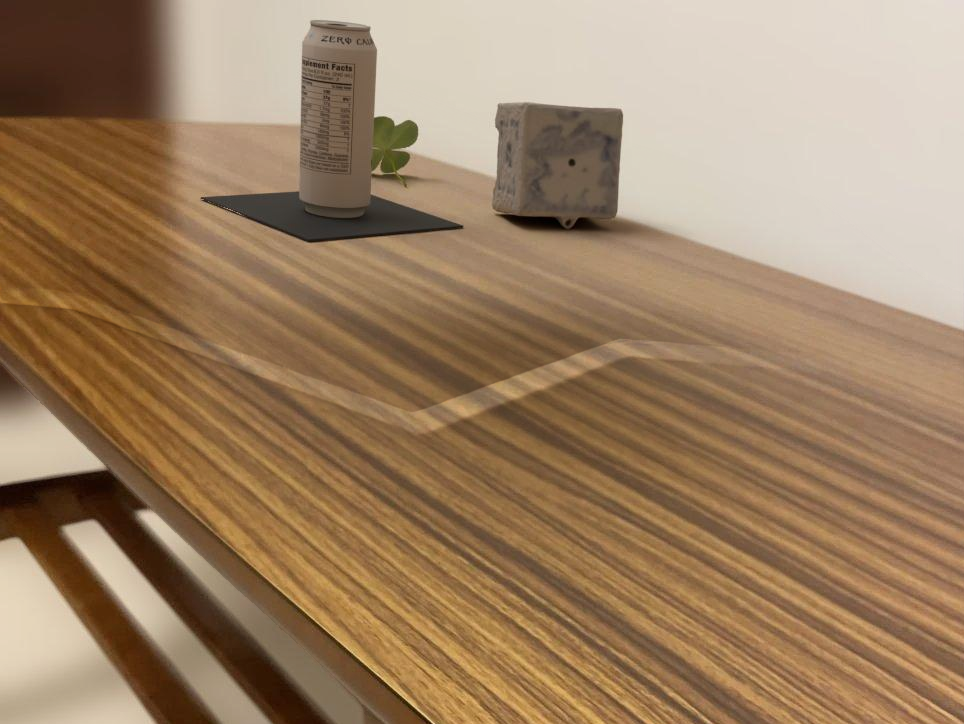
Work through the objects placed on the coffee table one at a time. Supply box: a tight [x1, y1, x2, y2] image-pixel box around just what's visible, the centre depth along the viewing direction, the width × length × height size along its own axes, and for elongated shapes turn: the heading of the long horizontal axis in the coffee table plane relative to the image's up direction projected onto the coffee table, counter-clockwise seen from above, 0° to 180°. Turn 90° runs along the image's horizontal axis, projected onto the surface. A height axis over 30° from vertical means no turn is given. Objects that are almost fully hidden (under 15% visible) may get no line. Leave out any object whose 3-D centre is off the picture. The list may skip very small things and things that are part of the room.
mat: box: [200, 190, 464, 243], centre depth 106 cm, size 16×16×1 cm
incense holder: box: [491, 101, 624, 229], centre depth 111 cm, size 10×8×10 cm
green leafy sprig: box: [372, 115, 419, 188], centre depth 122 cm, size 7×8×7 cm
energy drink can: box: [298, 19, 378, 218], centre depth 103 cm, size 6×6×15 cm
